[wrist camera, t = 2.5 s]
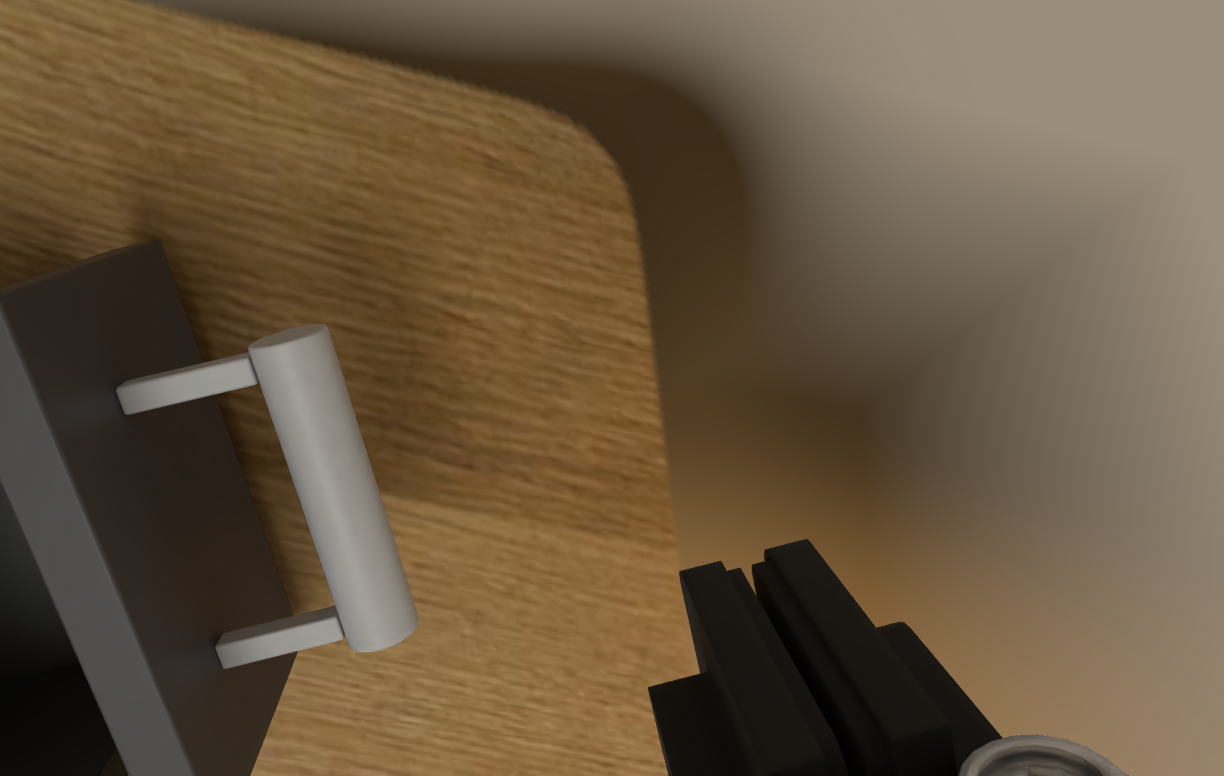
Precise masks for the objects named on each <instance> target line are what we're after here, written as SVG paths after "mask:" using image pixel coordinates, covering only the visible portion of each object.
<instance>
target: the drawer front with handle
mask: <svg viewBox="0 0 1224 776" xmlns="http://www.w3.org/2000/svg"><path fill="white" fill-rule="evenodd" d="M248 350H249V352H248V353H243V354H239V355H235V356H231V357H226V358H222V359H218V360H213V361H209V362H205V363H204V362H203V360H202V357H201V354H200V351H199V348H198V346H197V343H196V340H195V337H194V334H193V332H192V329H191V326H190V323H189V320H188V318H187V315H186V312H185V309H184V306H183V303H182V301H181V298H180V295H179V292H178V289H177V287H176V284H175V281H174V278H173V275H172V273H171V270H170V267H169V264H168V261H167V258H166V256H165V253H164V250H163V247H162V244H161V242H160V241H159V240H154V241H149V242H145V243H140V244H136V245H132V246H127V247H123V248H118V249H114V250H111V251H108V252H105V253H102V254H99V255H96V256H93V257H90V258H87V259H84V260H81V261H78V262H75V263H72V264H69V265H66V266H63V267H60V268H57V269H54V270H51V271H48V272H45V273H42V274H39V275H36V276H33V277H30V278H27V279H24V280H21V281H18V282H15V283H12V284H9V285H6V286H3V287H0V776H128V775H129V776H250V775H251V773H252V770H253V767H254V765H255V762H256V760H257V757H258V754H259V752H260V749H261V746H262V744H263V741H264V739H265V736H266V733H267V731H268V728H269V726H270V723H271V720H272V718H273V715H274V713H275V710H276V707H277V705H278V702H279V700H280V697H281V694H282V692H283V689H284V687H285V684H286V681H287V679H288V676H289V674H290V671H291V668H292V666H293V663H294V660H295V658H296V655H297V653H298V651H299V650H303V649H307V648H311V647H315V646H319V645H323V644H327V643H331V642H335V641H339V640H342V639H344V636H346V639H347V642H348V644H349V646H350V647H351V648H352V649H353V650H355V651H359V652H373V651H378V650H382V649H385V648H388V647H391V646H393V645H395V644H397V643H399V642H401V641H403V640H404V639H406V638H407V637H408V636H410V635H411V634H412V633H413V632H414V630H415V629H416V628H417V626H418V621H419V618H418V615H417V611H416V608H415V605H414V602H413V598H412V595H411V592H410V589H409V586H408V582H407V579H406V576H405V573H404V570H403V566H402V563H401V560H400V557H399V554H398V550H397V547H396V544H395V541H394V538H393V534H392V531H391V528H390V525H389V521H388V518H387V515H386V512H385V509H384V505H383V502H382V499H381V496H380V493H379V489H378V486H377V483H376V480H375V477H374V473H373V470H372V467H371V464H370V461H369V457H368V454H367V451H366V448H365V445H364V441H363V438H362V435H361V432H360V428H359V425H358V422H357V419H356V416H355V412H354V409H353V406H352V403H351V400H350V396H349V393H348V390H347V387H346V384H345V380H344V377H343V374H342V371H341V368H340V364H339V361H338V358H337V355H336V351H335V348H334V345H333V342H332V339H331V335H330V332H329V329H328V327H327V326H326V325H325V324H311V325H305V326H299V327H295V328H291V329H287V330H283V331H280V332H277V333H274V334H271V335H268V336H265V337H263V338H260V339H258V340H256V341H254V342H253V343H251V344H250V345H249V347H248ZM258 382H259V383H260V386H261V389H262V391H263V394H264V397H265V400H266V403H267V406H268V409H269V412H270V415H271V418H272V421H273V424H274V427H275V430H276V433H277V436H278V439H279V441H280V444H281V447H282V450H283V453H284V456H285V459H286V462H287V465H288V468H289V471H290V474H291V477H292V480H293V483H294V486H295V489H296V492H297V494H298V497H299V500H300V503H301V506H302V509H303V512H304V515H305V518H306V521H307V524H308V527H309V530H310V533H311V536H312V539H313V542H314V544H315V547H316V550H317V553H318V556H319V559H320V562H321V565H322V568H323V571H324V574H325V577H326V580H327V583H328V586H329V589H330V592H331V594H332V597H333V600H334V603H335V606H332V607H328V608H324V609H320V610H316V611H312V612H308V613H304V614H300V615H296V616H294V615H293V613H292V610H291V607H290V604H289V601H288V599H287V596H286V593H285V590H284V587H283V584H282V582H281V579H280V576H279V573H278V570H277V568H276V565H275V562H274V559H273V556H272V554H271V551H270V548H269V545H268V542H267V539H266V537H265V534H264V531H263V528H262V525H261V523H260V520H259V517H258V514H257V511H256V509H255V506H254V503H253V500H252V497H251V495H250V492H249V489H248V486H247V483H246V480H245V478H244V475H243V472H242V469H241V466H240V464H239V461H238V458H237V455H236V452H235V450H234V447H233V444H232V441H231V438H230V436H229V433H228V430H227V427H226V424H225V421H224V419H223V416H222V413H221V410H220V407H219V405H218V402H217V399H216V396H215V394H219V393H223V392H228V391H232V390H236V389H240V388H245V387H249V386H253V385H256V384H257V383H258Z"/></svg>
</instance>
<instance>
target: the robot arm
mask: <svg viewBox="0 0 1224 776" xmlns="http://www.w3.org/2000/svg"><path fill="white" fill-rule="evenodd" d="M764 559H765V561H764V562H760V563H756V564H753V565H752V575H753V580H754V586H755V591H756V595H755V593H754V591H753V589H752V587H751V586H750V584H749V582H748V580H747V579H746V577H745V575H744V573H743V571H742V570H741V568H737V569H733V570H729V571H726V569H725V567H724V565H723V563H722V562H721V561H718V562H714V563H710V564H707V565H702V566H698V567H694V568H690V569H687V570H683V571H679V576H680V582H681V587H682V592H683V596H684V601H685V606H686V610H687V615H688V619H689V624H690V629H691V633H692V638H693V642H694V647H695V652H696V656H697V661H698V665H699V670H700V674H697V675H693V676H689V677H685V678H681V679H678V680H674V681H670V682H666V683H662V684H658V685H655V686H651V687H648V691H649V696H650V700H651V704H652V709H653V713H654V717H655V721H656V726H657V730H658V734H659V738H660V743H661V747H662V751H663V755H664V759H665V763H666V767H667V771H668V775H669V776H1128V775H1127V774H1126V773H1124V772H1123V771H1122V770H1121V769H1119V768H1118V767H1117V766H1115V765H1114V764H1113V763H1112V762H1110V761H1109V760H1108V759H1106V758H1105V757H1103V756H1101V755H1100V754H1098V753H1096V752H1095V751H1093V750H1091V749H1090V748H1088V747H1086V746H1083V745H1080V744H1077V743H1074V742H1071V741H1069V740H1066V739H1063V738H1056V737H1049V736H1043V735H1020V736H1010V737H1006V738H1002V737H1001V736H1000V734H999V733H998V732H997V731H996V730H995V728H994V727H993V726H992V725H991V724H990V722H989V721H988V720H987V719H986V718H985V716H984V715H983V714H982V713H981V712H980V711H979V709H978V708H977V707H976V706H975V704H974V703H973V702H972V701H971V700H970V698H969V697H968V696H967V695H966V694H965V692H964V691H963V690H962V689H961V688H960V687H959V685H958V684H957V683H956V682H955V681H954V679H953V678H952V677H951V676H950V675H949V673H948V672H947V671H946V670H945V669H944V667H943V666H942V665H941V664H940V663H939V662H938V660H937V659H936V658H935V657H934V656H933V654H932V653H931V652H930V651H929V650H928V648H927V647H926V646H925V645H924V644H923V643H922V641H921V640H920V639H919V638H918V636H917V635H916V634H915V633H914V632H913V631H912V629H911V628H910V627H909V626H908V625H906V624H905V623H904V622H897V623H893V624H889V625H885V626H881V627H877V628H876V627H875V626H874V624H873V623H872V622H871V621H870V619H869V618H868V616H867V615H866V614H865V613H864V611H863V610H862V609H861V607H860V606H859V605H858V604H857V602H856V601H855V600H854V598H853V597H852V596H851V595H850V593H849V592H848V590H847V589H846V588H845V587H844V585H843V584H842V583H841V581H840V580H839V579H838V577H837V576H836V575H835V574H834V572H833V571H832V570H831V569H830V567H829V566H828V565H827V563H826V562H825V561H824V559H823V558H822V557H821V555H820V554H819V553H818V551H817V550H816V549H815V547H814V546H813V545H812V544H811V542H810V541H809V540H808V539H805V540H801V541H797V542H793V543H789V544H785V545H781V546H777V547H774V548H769V549H766V550H765V552H764Z"/></svg>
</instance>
